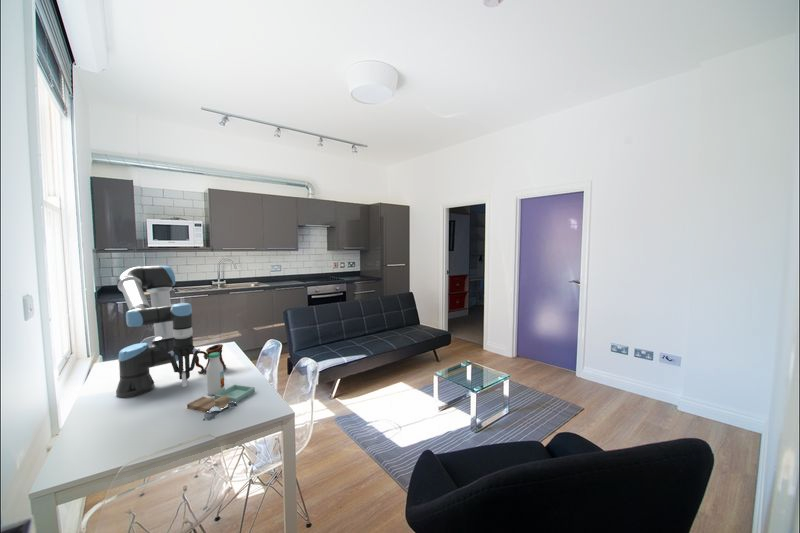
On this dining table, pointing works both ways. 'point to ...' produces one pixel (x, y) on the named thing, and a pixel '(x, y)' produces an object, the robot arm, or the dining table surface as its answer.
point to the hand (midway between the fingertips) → (184, 385)
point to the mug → (206, 356)
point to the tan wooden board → (201, 404)
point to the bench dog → (222, 401)
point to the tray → (236, 392)
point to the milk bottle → (215, 375)
